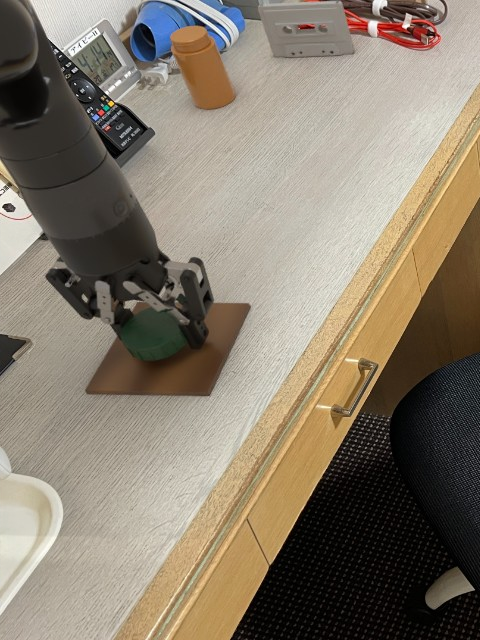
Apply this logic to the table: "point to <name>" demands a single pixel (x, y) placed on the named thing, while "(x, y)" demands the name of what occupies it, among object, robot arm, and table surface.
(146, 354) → the lid
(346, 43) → the cassette
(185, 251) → the table surface
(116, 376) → the coaster
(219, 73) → the jar
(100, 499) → the table surface
